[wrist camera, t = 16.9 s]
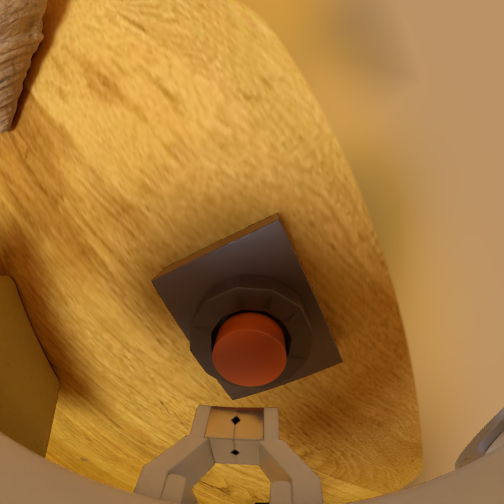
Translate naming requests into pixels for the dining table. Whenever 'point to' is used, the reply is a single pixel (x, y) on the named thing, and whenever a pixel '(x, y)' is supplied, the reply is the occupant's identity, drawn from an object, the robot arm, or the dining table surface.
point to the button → (249, 349)
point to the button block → (249, 300)
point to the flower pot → (24, 376)
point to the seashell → (17, 50)
